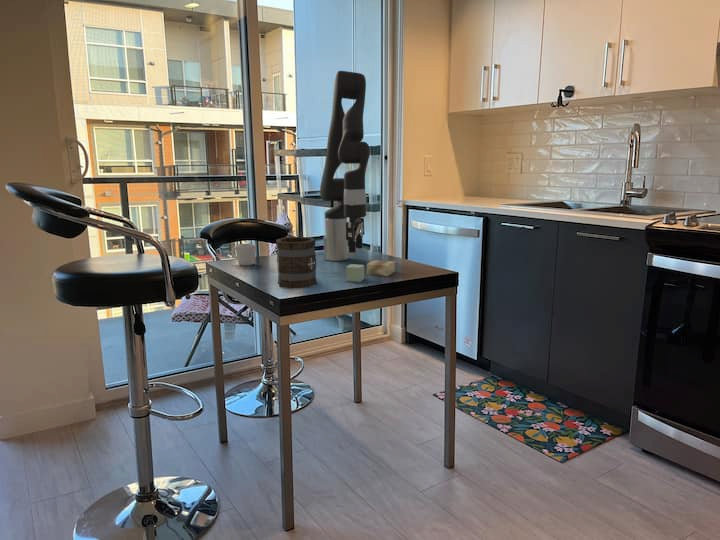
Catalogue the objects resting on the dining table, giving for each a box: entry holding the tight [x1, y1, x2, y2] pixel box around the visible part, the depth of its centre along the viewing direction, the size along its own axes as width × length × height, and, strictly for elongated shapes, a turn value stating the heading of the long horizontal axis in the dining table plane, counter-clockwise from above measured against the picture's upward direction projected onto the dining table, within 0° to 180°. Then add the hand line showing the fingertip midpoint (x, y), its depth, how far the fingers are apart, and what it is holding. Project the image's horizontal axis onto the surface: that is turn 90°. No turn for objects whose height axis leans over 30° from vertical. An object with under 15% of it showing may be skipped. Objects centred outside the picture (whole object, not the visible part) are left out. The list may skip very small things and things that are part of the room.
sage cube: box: [345, 263, 365, 283], centre depth 180 cm, size 5×5×5 cm
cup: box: [230, 243, 257, 267], centre depth 207 cm, size 11×8×8 cm
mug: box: [275, 236, 318, 289], centre depth 177 cm, size 20×14×15 cm
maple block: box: [366, 259, 396, 277], centre depth 190 cm, size 8×8×4 cm
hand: (355, 250), depth 178 cm, fingers open, 8 cm apart
